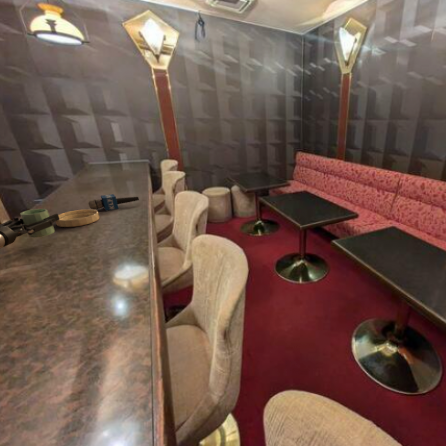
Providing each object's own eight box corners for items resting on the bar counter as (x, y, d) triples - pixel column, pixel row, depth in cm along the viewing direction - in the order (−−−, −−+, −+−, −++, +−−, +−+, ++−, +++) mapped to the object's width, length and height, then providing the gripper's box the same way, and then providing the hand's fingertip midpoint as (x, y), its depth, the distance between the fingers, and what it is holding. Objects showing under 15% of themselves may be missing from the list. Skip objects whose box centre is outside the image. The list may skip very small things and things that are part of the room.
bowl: (53, 230, 119) (51, 222, 117) (60, 219, 132) (57, 212, 130) (98, 223, 128) (96, 216, 126) (100, 214, 141) (98, 207, 139)
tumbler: (26, 239, 100) (17, 216, 96) (31, 232, 106) (23, 210, 102) (52, 235, 104) (44, 212, 101) (56, 228, 110) (48, 207, 107)
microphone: (138, 193, 155) (87, 200, 139) (140, 205, 158) (91, 213, 142) (135, 191, 161) (86, 197, 145) (138, 202, 163) (90, 209, 147)
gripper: (-36, 249, 86) (22, 224, 107) (31, 247, 89) (75, 224, 110) (-47, 229, 84) (16, 208, 105) (23, 228, 86) (70, 208, 107)
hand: (46, 216), depth 107 cm, fingers closed on tumbler, 8 cm apart
